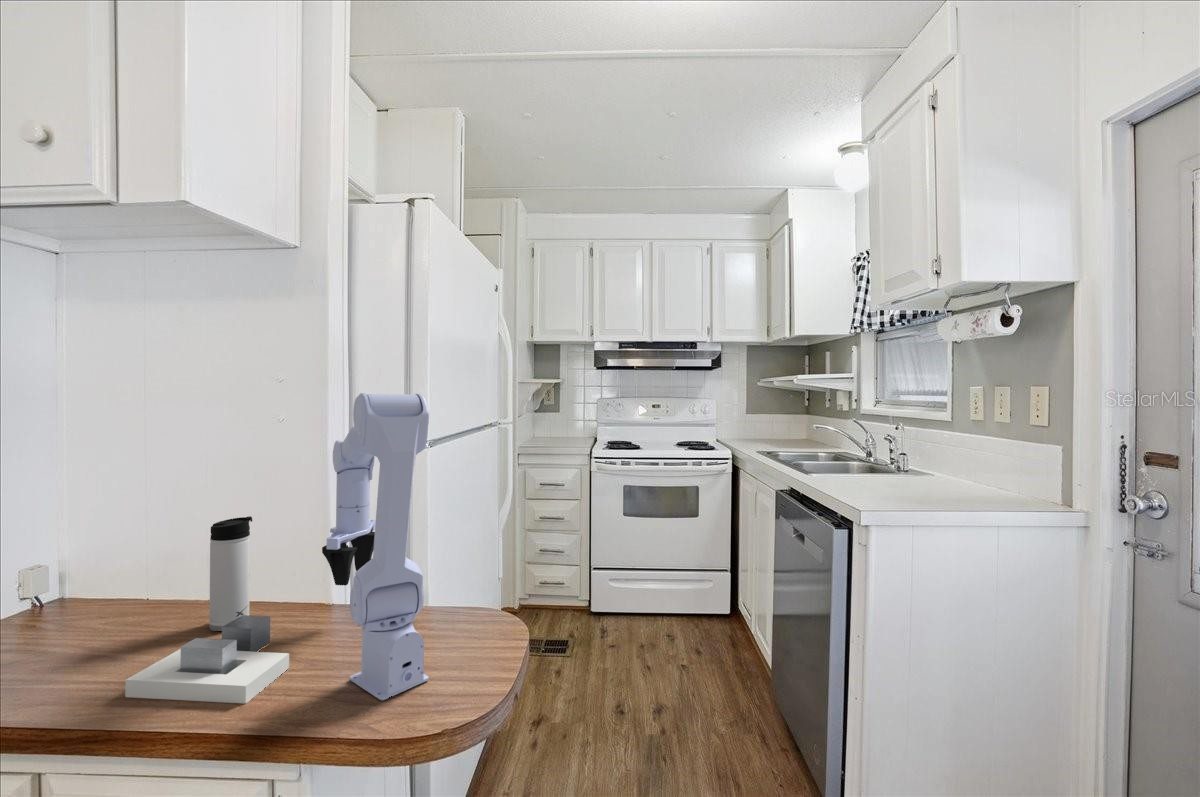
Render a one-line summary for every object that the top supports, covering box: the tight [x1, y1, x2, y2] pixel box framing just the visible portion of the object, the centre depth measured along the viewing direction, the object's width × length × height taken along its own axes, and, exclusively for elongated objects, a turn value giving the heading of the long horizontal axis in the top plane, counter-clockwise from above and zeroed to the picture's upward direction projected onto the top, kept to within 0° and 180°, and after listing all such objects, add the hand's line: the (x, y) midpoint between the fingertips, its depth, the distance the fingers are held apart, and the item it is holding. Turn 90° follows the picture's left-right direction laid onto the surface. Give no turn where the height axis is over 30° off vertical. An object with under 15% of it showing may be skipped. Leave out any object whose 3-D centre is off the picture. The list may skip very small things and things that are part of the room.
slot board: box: [124, 648, 290, 704], centre depth 85 cm, size 18×10×2 cm, turn 86°
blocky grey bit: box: [180, 637, 237, 674], centre depth 85 cm, size 6×3×6 cm, turn 87°
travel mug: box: [208, 515, 253, 632], centre depth 106 cm, size 6×7×20 cm
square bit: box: [221, 614, 271, 652], centre depth 96 cm, size 5×5×5 cm
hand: (352, 577), depth 106 cm, fingers open, 7 cm apart
